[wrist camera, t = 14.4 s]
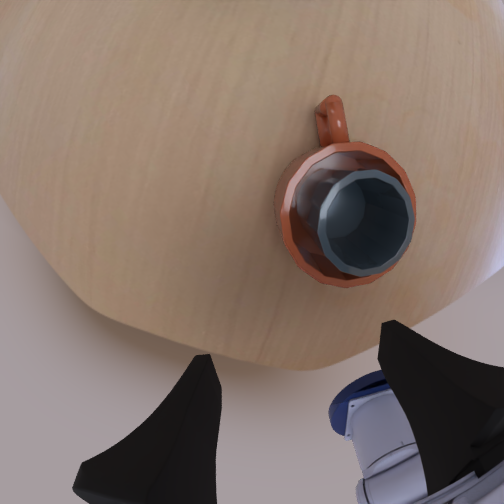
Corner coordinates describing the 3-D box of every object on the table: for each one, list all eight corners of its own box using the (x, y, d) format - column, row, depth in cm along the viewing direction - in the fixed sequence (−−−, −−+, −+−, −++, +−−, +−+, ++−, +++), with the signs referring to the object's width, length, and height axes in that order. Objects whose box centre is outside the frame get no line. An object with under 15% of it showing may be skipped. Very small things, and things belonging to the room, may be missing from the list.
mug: (383, 250, 20) (415, 273, 15) (282, 267, 21) (291, 298, 16) (369, 106, 17) (401, 92, 12) (258, 114, 17) (260, 97, 12)
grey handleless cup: (369, 235, 19) (414, 266, 13) (300, 246, 19) (321, 284, 13) (363, 164, 18) (412, 166, 11) (290, 172, 18) (310, 175, 12)
